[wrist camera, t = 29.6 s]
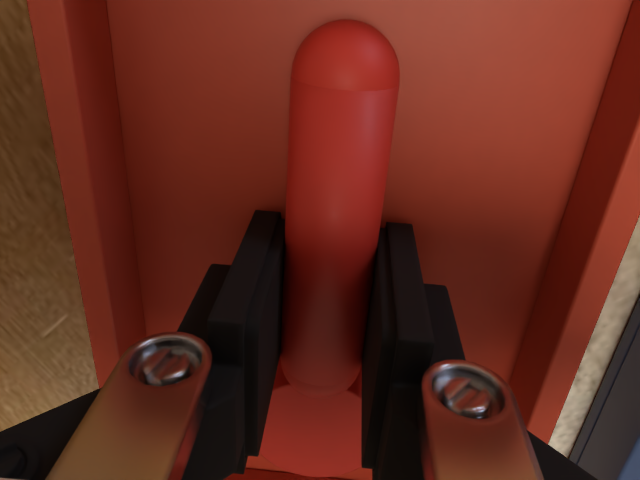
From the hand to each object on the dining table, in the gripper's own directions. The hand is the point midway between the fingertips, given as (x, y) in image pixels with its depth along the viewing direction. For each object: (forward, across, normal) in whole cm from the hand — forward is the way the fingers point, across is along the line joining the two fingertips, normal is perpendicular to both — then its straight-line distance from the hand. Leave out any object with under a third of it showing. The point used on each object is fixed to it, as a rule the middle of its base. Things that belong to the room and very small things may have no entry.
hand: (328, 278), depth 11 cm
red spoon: (0, 0, 0) cm, 0 cm away
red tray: (+1, 0, 0) cm, 1 cm away
